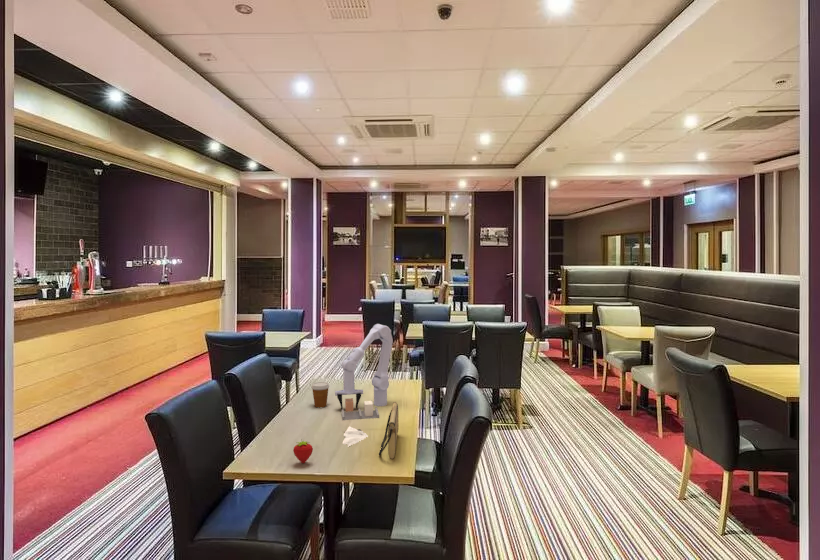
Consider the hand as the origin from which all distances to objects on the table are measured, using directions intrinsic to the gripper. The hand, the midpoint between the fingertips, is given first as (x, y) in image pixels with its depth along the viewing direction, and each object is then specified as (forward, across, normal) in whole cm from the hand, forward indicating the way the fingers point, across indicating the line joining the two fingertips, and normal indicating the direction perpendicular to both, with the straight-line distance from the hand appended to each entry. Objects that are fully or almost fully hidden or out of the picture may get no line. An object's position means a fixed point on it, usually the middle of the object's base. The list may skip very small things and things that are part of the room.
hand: (349, 408), depth 241 cm
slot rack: (+2, +5, -10) cm, 11 cm away
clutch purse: (+2, +15, -50) cm, 52 cm away
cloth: (+2, 0, -35) cm, 35 cm away
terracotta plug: (+2, 0, 0) cm, 2 cm away
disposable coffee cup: (+2, -15, +12) cm, 19 cm away
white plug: (+1, +9, -10) cm, 14 cm away
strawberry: (+2, -20, -60) cm, 63 cm away
